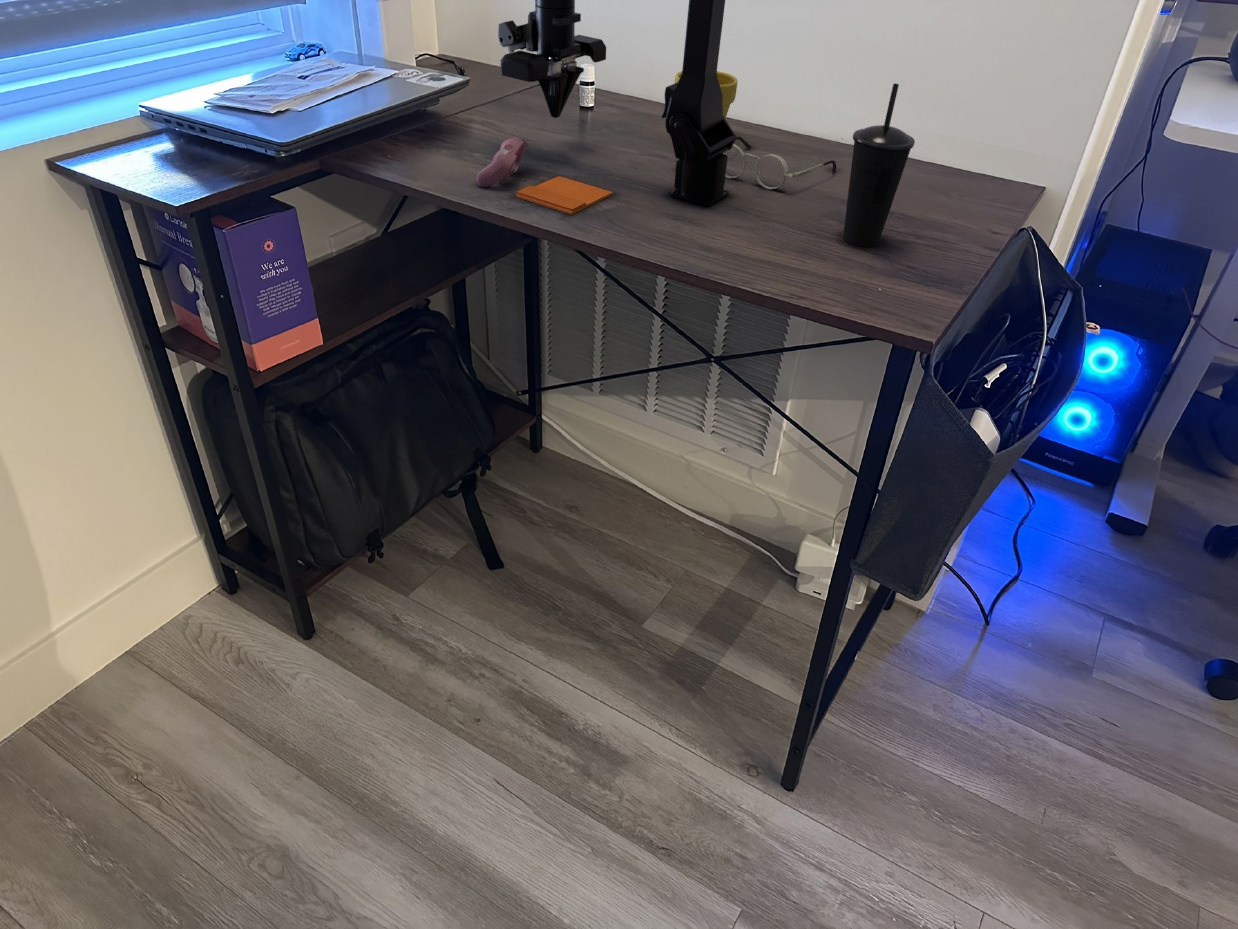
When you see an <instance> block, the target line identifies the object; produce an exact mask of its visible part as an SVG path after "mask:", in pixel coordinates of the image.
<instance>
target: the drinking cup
mask: <svg viewBox="0 0 1238 929" xmlns="http://www.w3.org/2000/svg"><path fill="white" fill-rule="evenodd" d="M899 86H900V85H899V83H893V85H892V88H891V92H890V96H889V101H888V106H887V111H886V114H885V119H884V124H882V125H881V124H880V125H879V124H877V125H871V126H867V127H864V128H860V129H858V130H856V131H854V132H853V134H852V140H853V150H852V158H851V167H850V176H849V184H848V193H847V201H846V209H845V215H844V216H845V217H844V226H843V234H842V238H843V240H844V241H845V242H847V243H848V244H850V245H854V246H858V247H862V248H863V247H864V248H865V247H869V248H870V247H874V246H877V245H879V243H880V241H881V238H882V234H883V232H884V229H885V225H886V224H887V219H888V216H889V214H890V211H891V208H892V206H893V202H894V199H895V196H896V193H897V191H898V188H899V185H900V181H901V179H902V177H903V173H904V170H905V168H906V164H907V161H908V158H909V155H910V153H911V150H912V149H913V148H914V146H915V144H916V141H915V138H914V137H913V136H911V135H909V134H908V133H906V132H905V131H903V130H901V129H900V128H897V127H896V126H895V127H894V126H890V125H891V122H892V117H893V112H894V107H895V103H896V99H897V95H898V91H899Z"/></svg>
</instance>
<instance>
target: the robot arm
mask: <svg viewBox="0 0 1238 929" xmlns="http://www.w3.org/2000/svg"><path fill="white" fill-rule="evenodd" d="M534 4H535V5H534V10H533V11H529V12H528V13H529V14H528V15H527V23H524V24H521V25H517V24H516V22H515V21H514V20H507V21H504V22H501V23H498V28H497V29H498V32H497V37H498V42H499V44H500V46H501V47H503V48H507V51H508V53H506V54H504V55H503V56H502V57H501V59H500V60H499V61H500V75H501V76H503V77H508V78H512V79H516V80H520V81H523V82H528V83H534V82H538V84H539V86H540V88H541V91H542V93H543V97H544V99H545V102H546V105H547V108H548V111H549V114H550V117H551V118H554V119H557V118H560V117H561V114H562V113H563V110H564V108H565V106H566V104H567V102H568V99H569V97H570V95H571V93H572V91H573V89H574V87H575V86H576V83H577V81H578V80H579V78H580V76H581V74H582V73H584V72H585V68H584V67H581V66H578V62H577V61H576V59H578V58H582V57H590V59H591V61H592V62H593V63H596V64H597V63H600V62H603V61H606V60H607V46H606V44H605V42H604V41H603V40H602V38H597V37H592V36H587V35H582V34H577V35H576V34H575V32H576V31H575V30H576V27H575V26H576V23H579V22H582V14H581V13H580V12H576V0H534ZM725 6H726V0H688V8H687V17H686V18H687V19H686V28H685V36H684V38H685V39H684V48H683V59H682V70H681V71H682V74H681V77H680V79H679V81H678V82H677V83H675V82H674V83H673V84H670V85H668V86H666V87H665V91H664V108H663V109H664V110H663V112H662V114H661V118H662V119H664V120H665V121H664V123H665V130H666V133H667V134H668V135H669V136H670V138H671V144H672V147H673V148H672V149H673V153H674V156H675V159H677V160H676V161H675V172H674V184H673V187H674V190H672V191H670V197H672V198H675V199H679V200H682V201H686V202H690V203H693V204H697V205H700V206H704V207H710V206H711V205H713V204H715V203H717V202H718V201H720V200H722V199H723V198H725V197H727V196H729V194H730V193H729V190H726V189H725V184H726V182H725V181H726V177H725V175H726V174H727V166H728V155H727V154H724V153H725V152H726V153H727V151H731V150H732V148H733V144H735V142H736V141H737V140H736V137H737V135H736V133H735V131H734V130H733V129H732V127H731V126H730V124H729V123H728V121H727V120H726V119H725V118H724V117H723V97H722V91H721V88H720V84H719V81H718V78H717V71H718V65H719V58H720V57H719V56H720V48H721V39H722V31H723V23H724V14H725ZM525 49H526V50H525ZM516 50H517V51H516ZM531 52H532V53H531ZM534 52H535V53H534Z"/></svg>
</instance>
